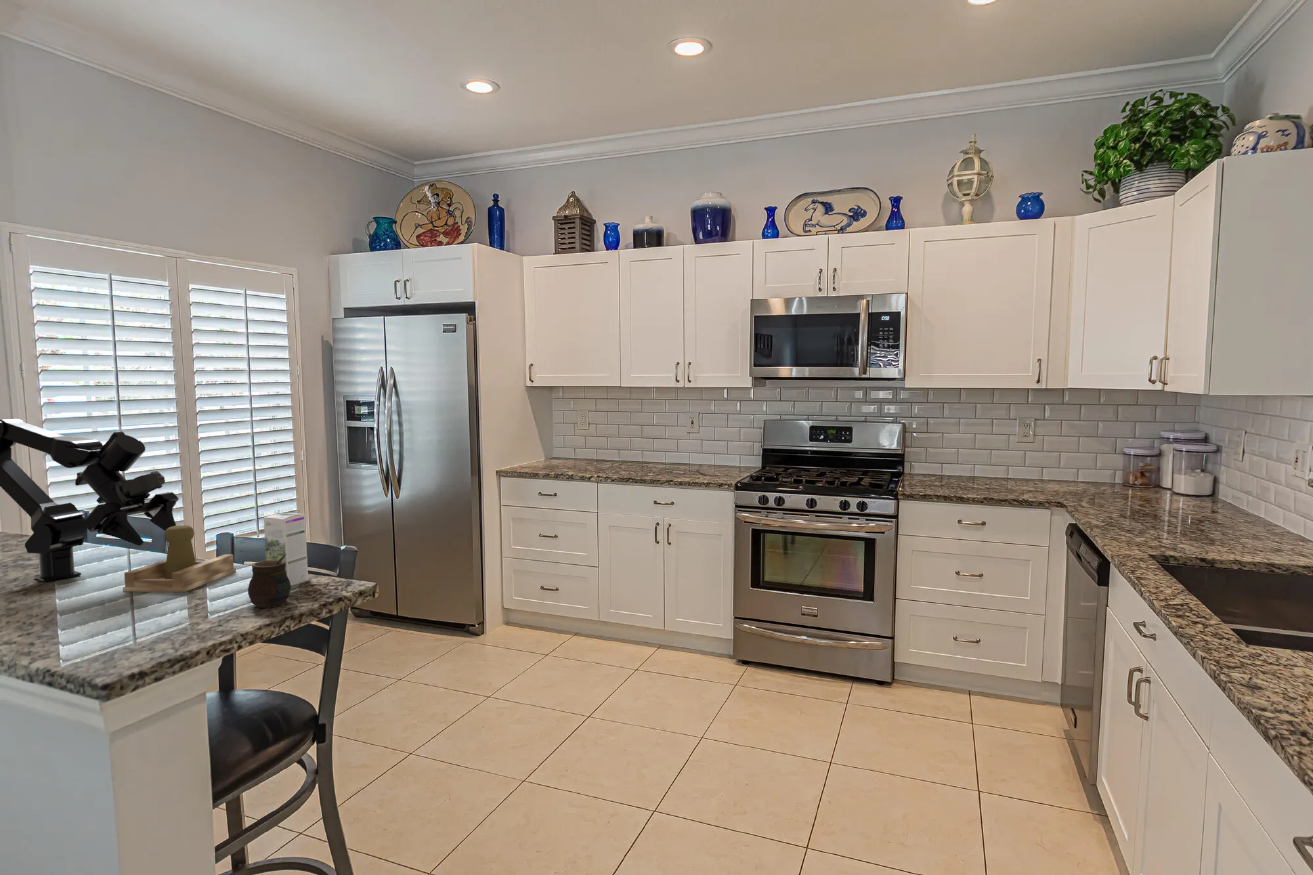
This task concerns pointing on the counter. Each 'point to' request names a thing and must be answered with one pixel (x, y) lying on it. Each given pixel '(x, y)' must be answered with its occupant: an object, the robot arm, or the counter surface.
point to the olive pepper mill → (179, 549)
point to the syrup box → (287, 543)
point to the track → (178, 575)
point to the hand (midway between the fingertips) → (159, 539)
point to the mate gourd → (269, 583)
